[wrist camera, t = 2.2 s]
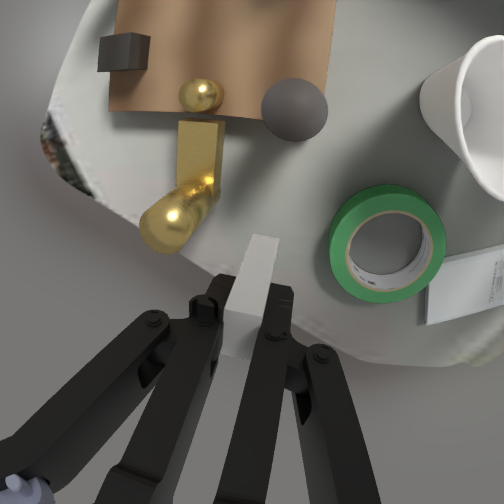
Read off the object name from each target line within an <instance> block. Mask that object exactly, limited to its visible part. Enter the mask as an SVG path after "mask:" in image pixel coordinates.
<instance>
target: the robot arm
mask: <svg viewBox="0 0 504 504" xmlns="http://www.w3.org/2000/svg"><path fill="white" fill-rule="evenodd" d="M278 244H279V238H274V237H268V236H263V235H257V234H253V236H252V238H251V241H250V243H249V246H248V249H247V251H246V254H245V256H244V259H243V261H242V264H241V266H240V269H239V272H238V274H237V277H235V276H230V275H225V274H219V275H217V276H216V277H214V278H213V280H212V282H211V284H210V286H209V288H208V290H207V292H206V294H205V295H204V294H203V295H197V296H195V297H193V298H192V299H191V300H190V301H189V317H188V318H185V319H169V317H168V315H167V314H166V313H165V312H163V311H160V310H149V311H146V312H144V313H142V314H141V315H140V316H139V317H138V318H137V319H135V320H134V321H133V322H132V323H131V324H130V325H129V326H128V327H127V328H125V329H124V330H123V331H122V332H121V333H120V334H119V335H118V336H117V337H116V338H115V339H113V340H112V341H111V342H110V343H109V344H108V345H107V346H106V347H105V348H104V349H103V350H101V351H100V352H99V353H98V354H97V355H96V356H95V357H94V358H93V359H92V360H91V361H90V362H89V363H87V364H86V365H85V366H84V367H83V368H82V369H81V370H80V371H79V372H78V373H77V374H76V375H75V376H74V377H72V378H71V379H70V380H69V381H68V382H67V383H66V384H65V385H64V386H63V387H62V388H61V389H60V390H59V391H58V392H57V393H56V394H55V395H53V397H51V398H50V399H49V400H48V401H47V402H46V403H45V404H44V405H43V406H42V407H41V408H40V409H39V410H38V411H37V412H36V413H35V414H34V415H33V416H32V417H31V418H30V419H29V420H28V421H27V422H26V423H25V424H24V425H23V426H22V427H21V428H20V429H19V430H18V431H17V432H16V433H15V434H14V435H13V436H11V437H8V438H6V439H4V440H1V441H0V504H55V500H54V495H53V494H54V493H56V492H58V491H59V490H61V489H62V488H64V487H65V486H66V485H68V484H69V483H70V482H71V481H72V480H73V479H74V478H75V477H76V476H77V474H78V473H79V472H80V471H81V470H82V469H83V468H84V467H85V465H86V464H87V463H88V462H89V461H90V460H91V459H92V458H93V456H94V455H95V454H96V453H97V452H98V451H99V450H100V448H101V447H102V446H103V445H104V444H105V443H106V442H107V440H108V439H109V438H110V437H111V436H112V435H113V434H114V432H115V431H116V430H117V429H118V428H119V427H120V426H121V424H122V423H123V422H124V421H125V420H126V419H127V418H128V416H129V415H130V414H131V413H132V412H133V411H134V409H135V408H136V407H137V406H138V405H139V403H141V401H142V400H143V399H144V398H145V397H146V395H147V394H148V393H149V392H150V391H151V390H152V389H153V387H154V386H155V385H156V386H155V388H154V390H153V392H152V395H151V397H150V399H149V401H148V403H147V405H146V407H145V409H144V411H143V414H142V416H141V418H140V420H139V422H138V424H137V426H136V429H135V431H134V433H133V435H132V437H131V440H130V442H129V444H128V446H127V448H126V451H125V453H124V455H123V457H122V459H121V461H120V462H119V464H117V465H115V466H113V467H112V468H111V469H110V470H109V472H108V474H107V476H106V478H105V480H104V482H103V484H102V487H101V489H100V491H99V494H98V496H97V498H96V500H95V503H94V504H172V503H173V496H174V492H175V489H176V487H177V484H178V481H179V478H180V474H181V472H182V469H183V466H184V463H185V460H186V457H187V454H188V451H189V448H190V445H191V442H192V439H193V436H194V433H195V430H196V427H197V424H198V421H199V419H200V416H201V412H202V410H203V407H204V404H205V401H206V398H207V395H208V392H209V389H210V386H211V383H212V380H213V377H214V374H215V371H216V368H217V365H218V356H219V353H220V350H221V354H224V355H228V356H233V357H237V358H242V359H247V360H251V363H250V367H249V371H248V375H247V379H246V383H245V387H244V391H243V395H242V399H241V403H240V407H239V411H238V415H237V419H236V422H235V426H234V430H233V434H232V438H231V442H230V445H229V449H228V453H227V457H226V460H225V464H224V468H223V471H222V475H221V479H220V482H219V486H218V490H217V493H216V496H215V499H214V502H213V504H265V500H266V494H267V489H268V484H269V478H270V473H271V467H272V462H273V455H274V450H275V444H276V438H277V432H278V426H279V419H280V412H281V406H282V399H283V392H284V388H286V389H288V390H290V391H292V398H293V404H294V410H295V415H296V422H297V427H298V433H299V439H300V445H301V451H302V457H303V463H304V469H305V475H306V482H307V488H308V494H309V500H310V504H381V501H380V497H379V493H378V489H377V485H376V481H375V478H374V474H373V470H372V466H371V462H370V459H369V455H368V452H367V448H366V445H365V441H364V438H363V434H362V431H361V427H360V424H359V421H358V417H357V414H356V411H355V407H354V404H353V401H352V398H351V394H350V391H349V388H348V385H347V382H346V379H345V376H344V372H343V369H342V366H341V363H340V360H339V357H338V355H337V353H336V351H335V350H333V348H331V347H330V346H327V345H325V344H314V345H312V346H310V347H306V346H304V345H302V344H300V343H298V342H297V341H296V340H295V339H294V338H293V337H292V335H291V333H290V325H291V317H292V307H293V298H294V293H293V291H292V289H291V287H290V286H285V285H280V284H274V283H271V282H272V277H273V272H274V266H275V261H276V256H277V250H278Z"/></svg>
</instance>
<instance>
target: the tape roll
mask: <svg viewBox="0 0 504 504" xmlns="http://www.w3.org/2000/svg"><path fill="white" fill-rule="evenodd" d="M389 213H400V214H405V215H408V216H410V217H412V218H414V219H415V220H417V221H418V222H419V223H420V225H421V228H422V244H421V247H420V250H419V252H418V254H417V256H416V257H415V259H414V260H413V261H412V262H411V263H410V264H409V265H408V266H406V267H405V268H403V269H402V270H400V271H398V272H395V273H392V274H388V275H376V274H371V273H368V272H365V271H363V270H362V269H360V268H359V267H358V266H356V265H355V263H354V262H353V261H352V260H351V258H350V256H349V250H350V243H351V241H352V239H353V237H354V235H355V234H356V232H357V231H358V229H359V228H360V227H361V226H362V225H364V224H365V223H366V222H367V221H369V220H371V219H373V218H375V217H377V216H379V215H383V214H389ZM445 252H446V235H445V230H444V227H443V224H442V222H441V220H440V218H439V217H438V215H437V214H436V212H435V211H434V210H433V209H432V207H431V206H430V205H429V204H428V203H427V202H426V201H425V200H424V199H423V198H422V197H421V196H420V195H419V194H417V193H416V192H414V191H412V190H410V189H408V188H406V187H402V186H398V185H377V186H373V187H369V188H367V189H364V190H362V191H360V192H358V193H357V194H355V195H354V196H352V197H351V198H350V199H348V200H347V201H346V202H345V203H344V204H343V206H342V207H341V208H340V209H339V211H338V212H337V214H336V216H335V217H334V220H333V222H332V224H331V228H330V232H329V259H330V265H331V269H332V272H333V274H334V276H335V278H336V280H337V281H338V283H339V284H340V285H341V286H342V288H344V289H345V290H346V291H347V292H348V293H350V294H351V295H353V296H354V297H356V298H358V299H361V300H364V301H367V302H372V303H392V302H397V301H400V300H404V299H406V298H409V297H411V296H413V295H415V294H416V293H418V292H419V291H421V290H422V289H423V288H425V287H426V286H427V285H428V284H429V283H430V282H431V281H432V280H433V278H434V277H435V276H436V274H437V273H438V271H439V269H440V267H441V265H442V263H443V260H444V257H445Z"/></svg>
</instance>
